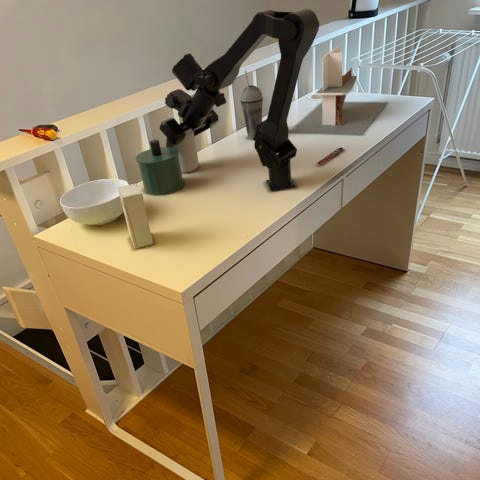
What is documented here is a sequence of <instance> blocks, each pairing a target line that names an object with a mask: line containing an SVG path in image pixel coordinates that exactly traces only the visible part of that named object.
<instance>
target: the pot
mask: <svg viewBox="0 0 480 480" xmlns="http://www.w3.org/2000/svg"><path fill="white" fill-rule="evenodd" d="M137 164H138V168H139V172H140V177H141V180H142V186H143V189H144V191H145V193H146V194H148V195H152V196H163V195H168V194H172V193H174V192H177V191H179V190H180V189H182V188H183V187H184V180H183V173H181V168H180V163H179V157H178V156H177V157H175V158H174V159H172V160H169V161H167V162H163V163H158V164H140V163H138V162H137Z"/></svg>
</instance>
